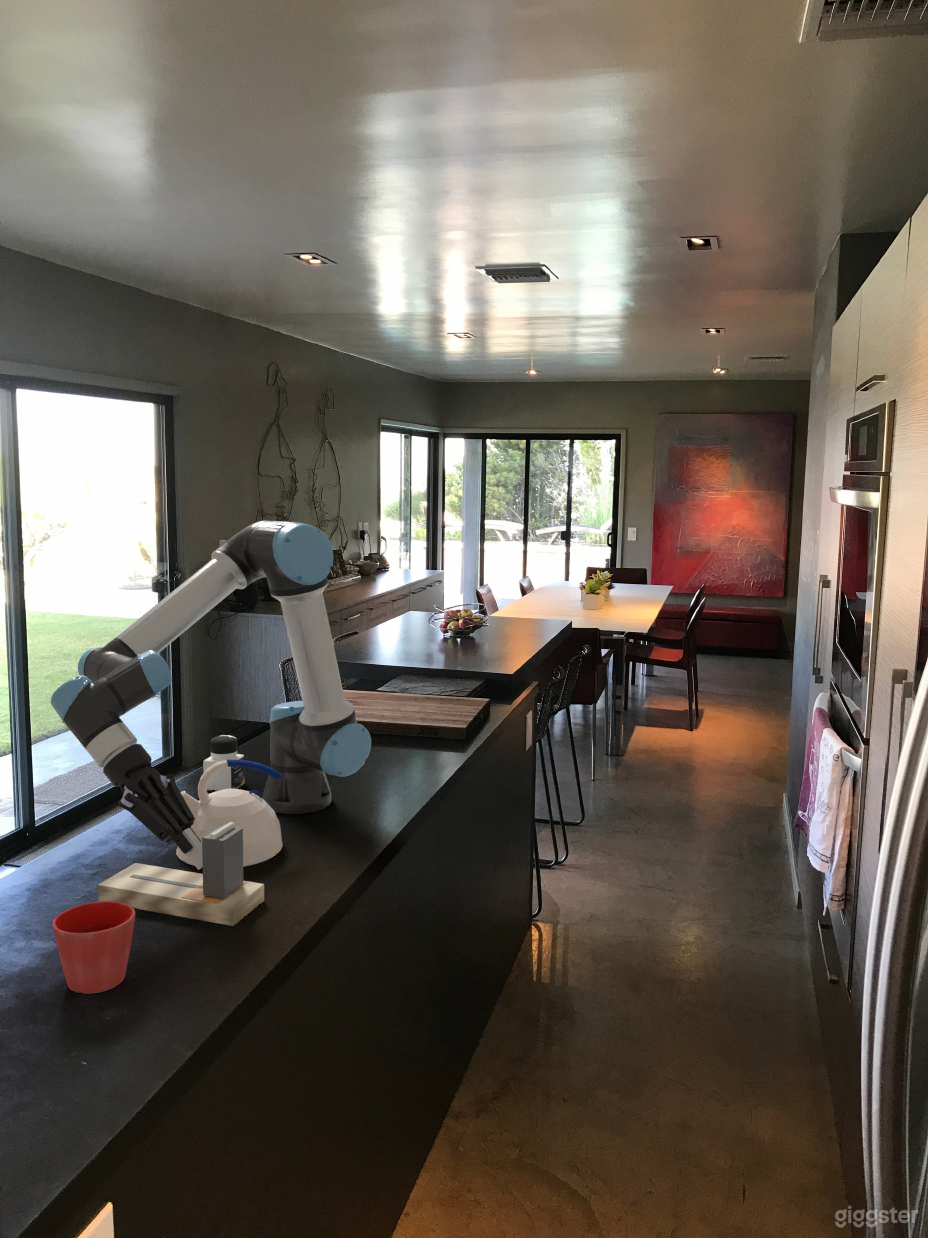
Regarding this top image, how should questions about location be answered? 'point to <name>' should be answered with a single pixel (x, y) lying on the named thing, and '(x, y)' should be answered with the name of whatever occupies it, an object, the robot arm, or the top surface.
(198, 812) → the kettle
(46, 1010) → the top surface
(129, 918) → the flower pot
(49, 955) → the top surface
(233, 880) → the fader knob
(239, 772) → the medicine bottle
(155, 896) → the fader console
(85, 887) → the top surface
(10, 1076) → the top surface
